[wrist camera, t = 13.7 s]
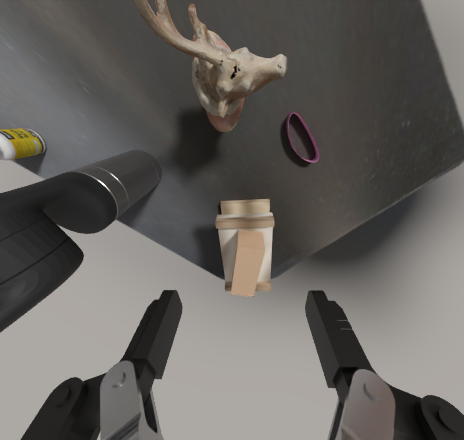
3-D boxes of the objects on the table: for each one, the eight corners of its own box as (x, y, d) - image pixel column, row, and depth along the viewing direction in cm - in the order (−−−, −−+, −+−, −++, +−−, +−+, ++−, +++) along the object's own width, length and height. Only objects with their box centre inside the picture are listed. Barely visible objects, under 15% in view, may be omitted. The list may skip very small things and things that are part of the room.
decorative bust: (287, 84, 31) (303, 36, 11) (233, 133, 38) (176, 163, 17) (251, 19, 28) (173, -228, 8) (198, 84, 34) (75, 47, 14)
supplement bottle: (44, 133, 39) (-10, 138, 31) (49, 157, 42) (0, 168, 34) (17, 124, 39) (-45, 127, 30) (24, 148, 41) (-32, 158, 33)
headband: (277, 123, 36) (279, 123, 34) (294, 108, 35) (297, 108, 33) (302, 166, 40) (305, 169, 38) (319, 155, 39) (323, 157, 37)
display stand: (226, 247, 53) (220, 291, 40) (219, 190, 44) (209, 223, 31) (267, 246, 52) (275, 291, 39) (269, 187, 43) (280, 220, 30)
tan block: (232, 274, 39) (230, 294, 35) (238, 229, 33) (237, 247, 29) (252, 276, 39) (253, 296, 35) (262, 232, 33) (265, 250, 29)
